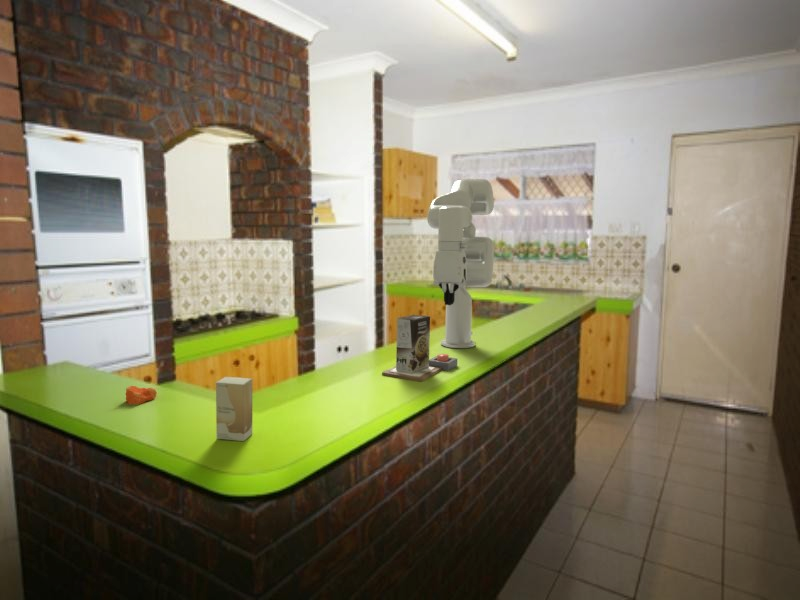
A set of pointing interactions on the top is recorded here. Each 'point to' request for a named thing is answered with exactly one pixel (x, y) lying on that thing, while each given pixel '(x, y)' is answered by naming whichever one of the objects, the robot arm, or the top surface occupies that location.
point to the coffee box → (413, 343)
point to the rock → (139, 395)
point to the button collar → (443, 363)
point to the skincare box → (234, 408)
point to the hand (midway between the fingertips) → (449, 304)
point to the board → (415, 376)
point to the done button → (443, 357)
